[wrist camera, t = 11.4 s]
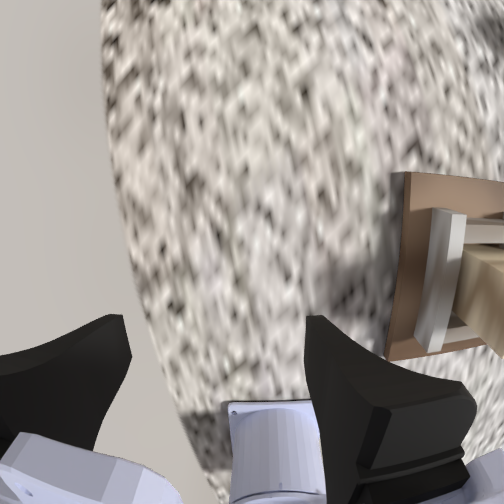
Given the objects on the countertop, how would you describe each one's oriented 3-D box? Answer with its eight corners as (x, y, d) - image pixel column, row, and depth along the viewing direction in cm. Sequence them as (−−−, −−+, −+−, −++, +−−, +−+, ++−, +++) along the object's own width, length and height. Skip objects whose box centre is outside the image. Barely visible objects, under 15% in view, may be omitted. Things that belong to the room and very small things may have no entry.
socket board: (491, 336, 22) (511, 355, 19) (383, 354, 23) (398, 381, 19) (519, 184, 18) (547, 191, 15) (404, 171, 19) (430, 174, 15)
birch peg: (482, 297, 20) (543, 346, 12) (441, 301, 20) (501, 359, 12) (493, 244, 19) (563, 280, 11) (451, 244, 19) (525, 285, 11)
